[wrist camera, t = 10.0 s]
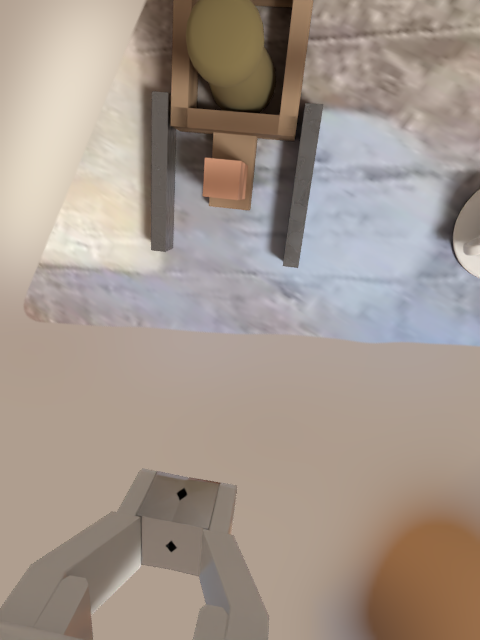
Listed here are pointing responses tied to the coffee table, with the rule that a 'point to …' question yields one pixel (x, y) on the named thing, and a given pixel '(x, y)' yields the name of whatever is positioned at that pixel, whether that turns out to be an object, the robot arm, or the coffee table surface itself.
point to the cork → (231, 54)
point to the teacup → (468, 235)
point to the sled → (236, 127)
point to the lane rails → (166, 177)
